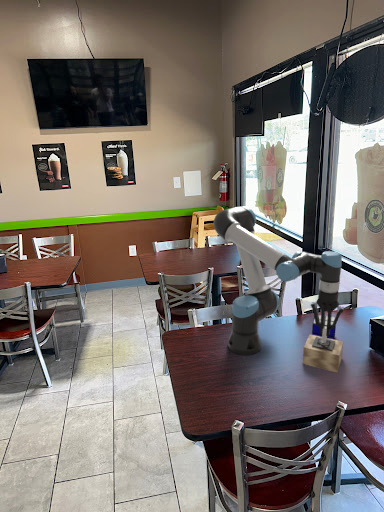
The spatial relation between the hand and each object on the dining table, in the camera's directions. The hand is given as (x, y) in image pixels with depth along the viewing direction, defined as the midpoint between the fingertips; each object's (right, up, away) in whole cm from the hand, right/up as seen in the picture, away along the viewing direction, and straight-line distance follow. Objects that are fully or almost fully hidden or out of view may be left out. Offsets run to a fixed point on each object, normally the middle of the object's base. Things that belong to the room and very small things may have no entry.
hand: (324, 341), depth 151 cm
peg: (0, -8, +2) cm, 8 cm away
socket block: (0, -9, +3) cm, 9 cm away
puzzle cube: (+7, -4, +20) cm, 22 cm away
